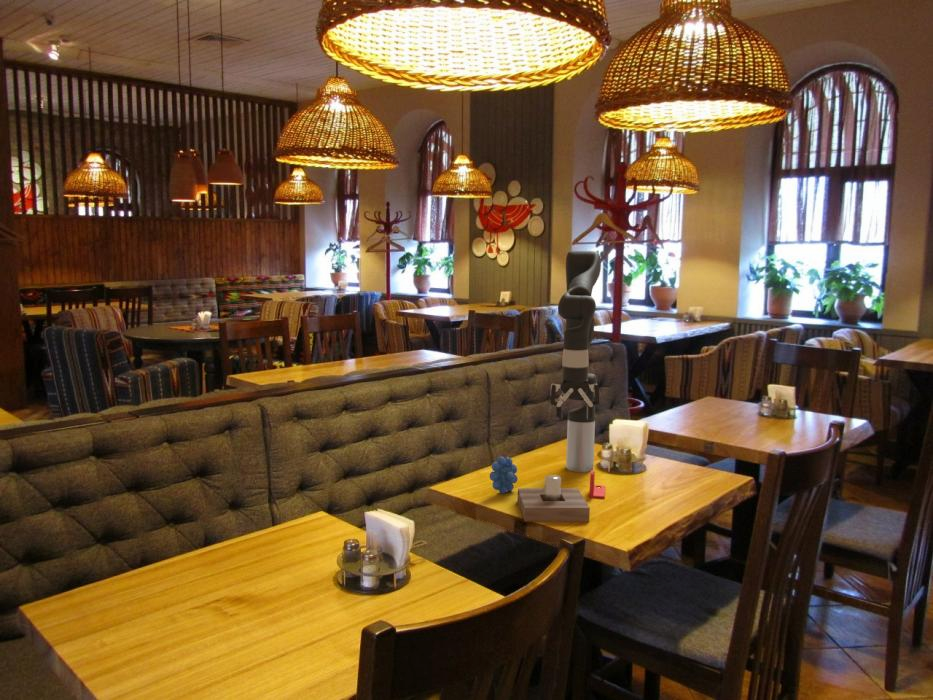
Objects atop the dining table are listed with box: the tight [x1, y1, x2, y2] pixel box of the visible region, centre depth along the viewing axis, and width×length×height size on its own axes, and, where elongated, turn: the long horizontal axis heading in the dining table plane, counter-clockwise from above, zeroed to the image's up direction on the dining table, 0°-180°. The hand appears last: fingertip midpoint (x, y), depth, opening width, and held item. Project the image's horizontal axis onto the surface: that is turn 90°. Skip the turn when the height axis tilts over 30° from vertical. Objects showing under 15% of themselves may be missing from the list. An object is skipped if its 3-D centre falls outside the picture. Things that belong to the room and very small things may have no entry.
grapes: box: [489, 456, 519, 495], centre depth 237 cm, size 12×7×12 cm, turn 133°
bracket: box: [589, 469, 607, 500], centre depth 240 cm, size 12×4×8 cm, turn 168°
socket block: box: [517, 487, 591, 523], centre depth 222 cm, size 18×18×4 cm
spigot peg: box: [544, 474, 562, 501], centre depth 222 cm, size 4×4×10 cm
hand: (573, 418), depth 227 cm, fingers open, 8 cm apart
